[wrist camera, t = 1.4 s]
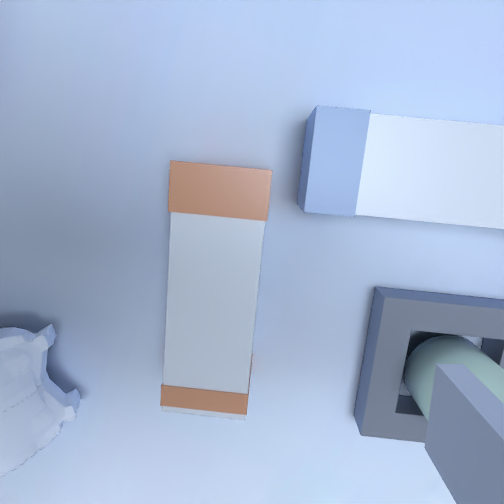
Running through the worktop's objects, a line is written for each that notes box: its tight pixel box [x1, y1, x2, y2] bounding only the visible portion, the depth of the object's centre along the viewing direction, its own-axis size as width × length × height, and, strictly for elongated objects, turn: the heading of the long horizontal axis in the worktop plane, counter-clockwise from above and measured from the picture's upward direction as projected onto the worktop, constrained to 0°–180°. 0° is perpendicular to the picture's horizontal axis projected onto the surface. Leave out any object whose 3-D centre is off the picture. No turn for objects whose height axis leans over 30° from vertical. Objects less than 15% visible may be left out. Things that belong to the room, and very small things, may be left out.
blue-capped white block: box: [297, 106, 504, 229], centre depth 20 cm, size 13×5×5 cm, turn 85°
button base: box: [354, 287, 504, 443], centre depth 23 cm, size 9×9×2 cm
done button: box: [404, 335, 504, 421], centre depth 21 cm, size 5×5×4 cm
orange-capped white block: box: [160, 160, 272, 420], centre depth 22 cm, size 13×5×5 cm, turn 175°
